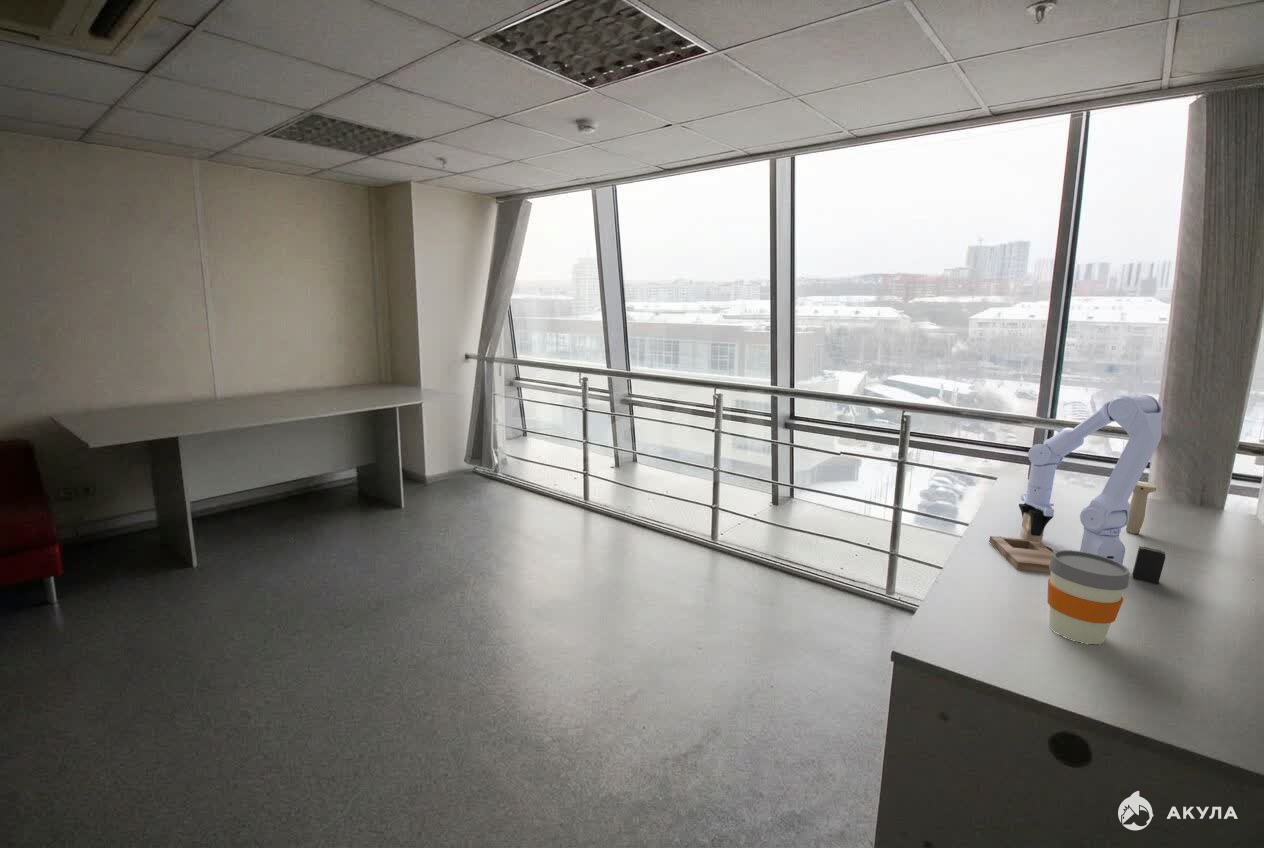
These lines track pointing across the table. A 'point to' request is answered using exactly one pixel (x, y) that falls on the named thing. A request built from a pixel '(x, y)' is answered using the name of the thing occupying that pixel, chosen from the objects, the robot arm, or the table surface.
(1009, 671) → the table surface
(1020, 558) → the slotted walnut block
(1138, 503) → the handle
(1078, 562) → the reusable coffee cup
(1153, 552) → the ink cartridge
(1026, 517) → the maple peg
